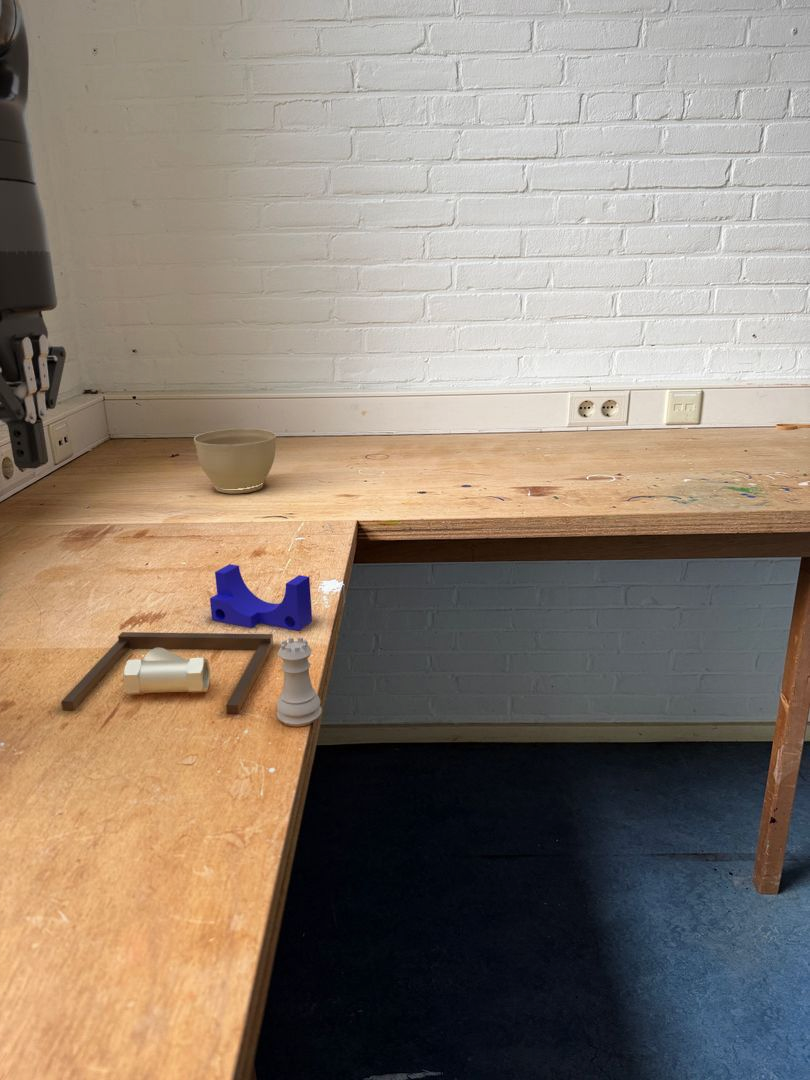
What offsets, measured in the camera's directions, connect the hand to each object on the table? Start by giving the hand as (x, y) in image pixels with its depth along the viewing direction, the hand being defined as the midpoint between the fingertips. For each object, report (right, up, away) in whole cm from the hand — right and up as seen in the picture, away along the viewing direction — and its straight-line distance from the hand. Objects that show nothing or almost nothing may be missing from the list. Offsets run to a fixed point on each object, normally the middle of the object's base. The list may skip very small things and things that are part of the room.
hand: (32, 466), depth 67 cm
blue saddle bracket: (+13, -17, +33) cm, 40 cm away
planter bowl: (-2, +4, +95) cm, 95 cm away
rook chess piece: (+21, -24, +12) cm, 34 cm away
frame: (+6, -21, +19) cm, 29 cm away
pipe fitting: (+7, -22, +18) cm, 29 cm away
